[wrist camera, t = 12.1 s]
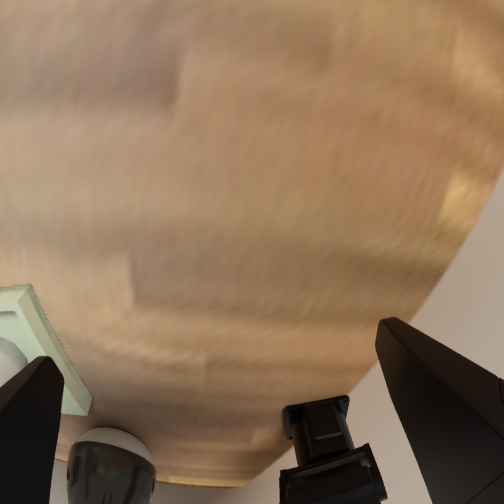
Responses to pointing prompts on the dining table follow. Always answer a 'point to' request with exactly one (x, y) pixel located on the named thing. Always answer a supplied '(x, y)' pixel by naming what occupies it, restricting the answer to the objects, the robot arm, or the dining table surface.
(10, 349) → the salt shaker
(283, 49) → the dining table surface
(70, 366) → the tray
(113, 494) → the dark grey egg shape
